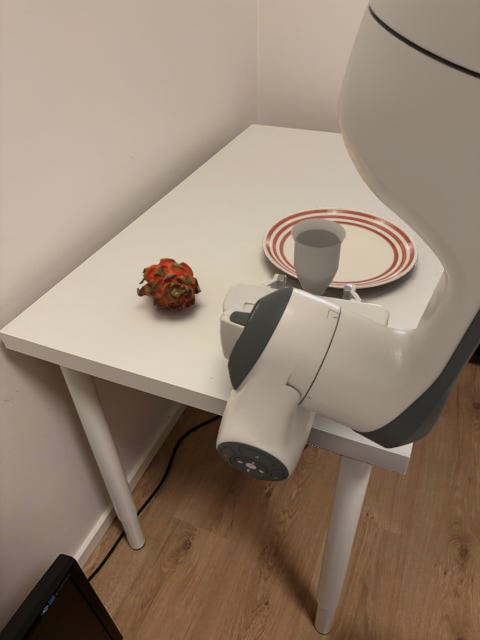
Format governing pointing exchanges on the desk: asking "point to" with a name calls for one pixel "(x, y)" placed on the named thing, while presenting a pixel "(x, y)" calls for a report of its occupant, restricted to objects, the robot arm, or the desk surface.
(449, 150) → the robot arm
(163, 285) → the dragon fruit
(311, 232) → the chalice
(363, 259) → the dinner plate
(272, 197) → the desk surface
